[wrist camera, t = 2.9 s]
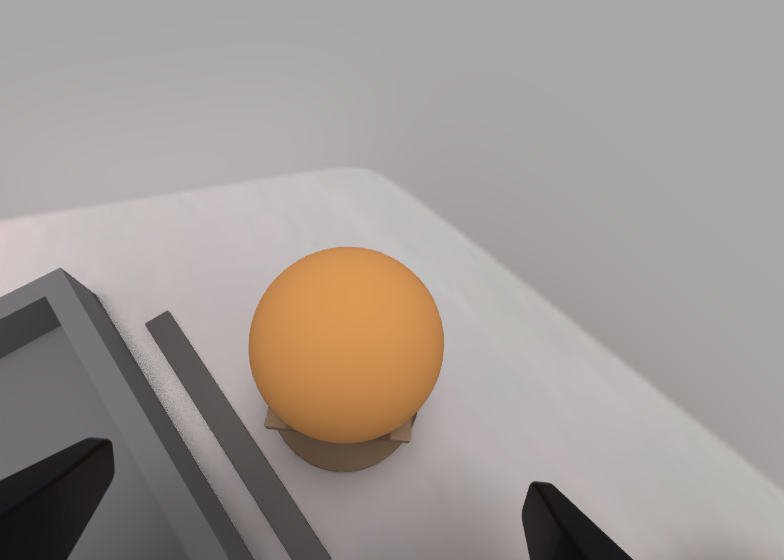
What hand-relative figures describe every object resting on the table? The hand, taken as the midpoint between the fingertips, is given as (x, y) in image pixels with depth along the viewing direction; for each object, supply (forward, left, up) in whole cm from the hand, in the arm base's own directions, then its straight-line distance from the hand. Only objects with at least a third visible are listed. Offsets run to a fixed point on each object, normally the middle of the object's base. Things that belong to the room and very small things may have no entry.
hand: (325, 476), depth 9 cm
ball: (+3, +3, -6) cm, 7 cm away
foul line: (-2, +5, -11) cm, 12 cm away
